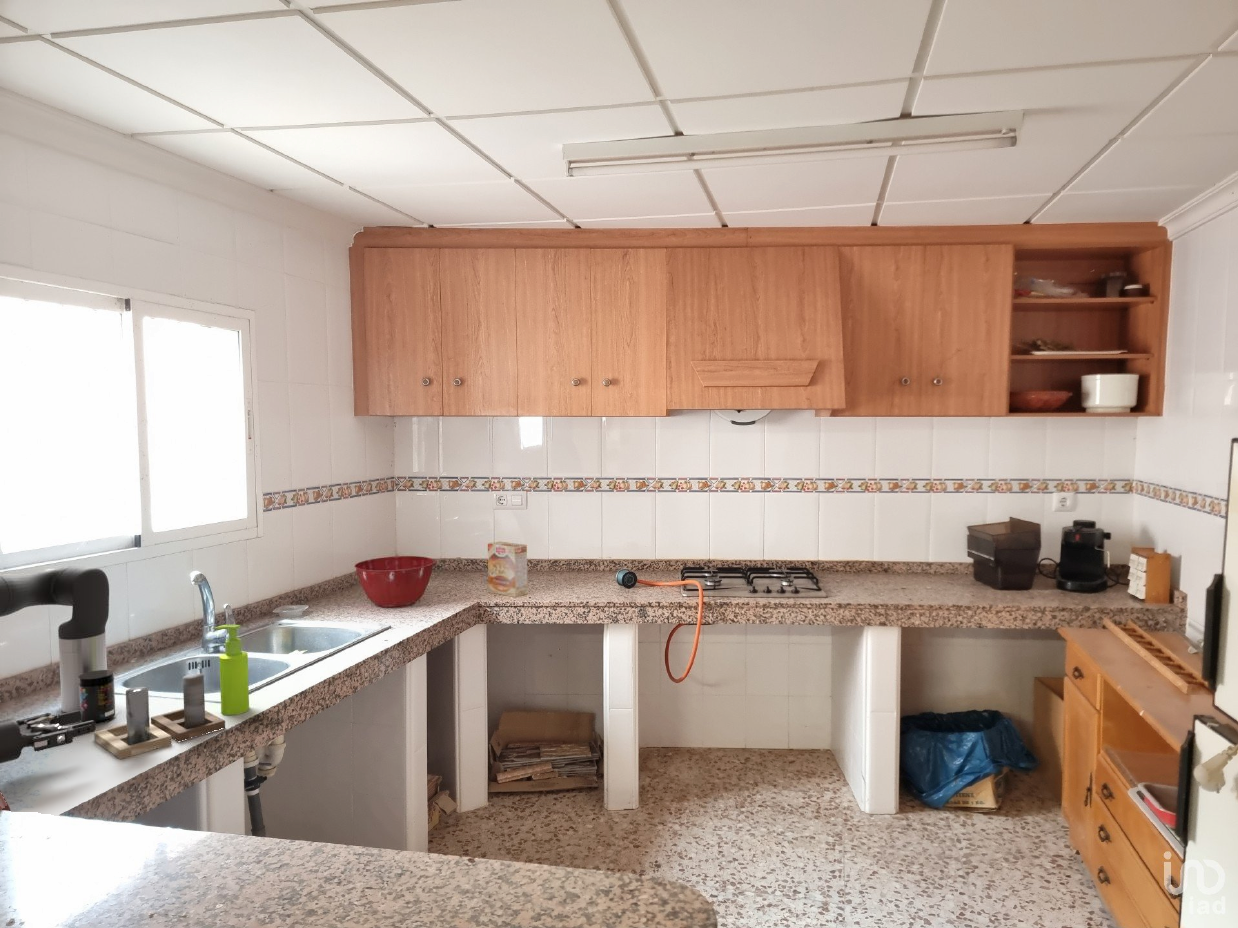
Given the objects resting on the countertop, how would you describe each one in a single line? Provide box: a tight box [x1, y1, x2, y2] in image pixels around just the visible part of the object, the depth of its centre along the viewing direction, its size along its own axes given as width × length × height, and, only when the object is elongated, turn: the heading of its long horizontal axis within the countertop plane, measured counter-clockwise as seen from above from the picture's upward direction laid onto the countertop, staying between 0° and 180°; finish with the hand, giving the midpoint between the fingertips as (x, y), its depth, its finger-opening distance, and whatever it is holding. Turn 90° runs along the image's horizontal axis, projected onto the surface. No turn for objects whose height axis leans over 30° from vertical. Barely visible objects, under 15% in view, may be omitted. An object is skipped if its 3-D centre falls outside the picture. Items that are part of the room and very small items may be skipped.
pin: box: [125, 686, 150, 746], centre depth 166 cm, size 4×4×12 cm
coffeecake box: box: [487, 541, 528, 598], centre depth 314 cm, size 15×7×20 cm, turn 53°
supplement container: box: [79, 669, 116, 725], centre depth 182 cm, size 7×7×10 cm
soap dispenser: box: [213, 624, 250, 716], centre depth 187 cm, size 6×7×20 cm
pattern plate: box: [150, 673, 226, 742], centre depth 177 cm, size 15×10×12 cm, turn 50°
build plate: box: [93, 722, 172, 760], centre depth 169 cm, size 15×10×2 cm, turn 50°
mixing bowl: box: [353, 555, 436, 609], centre depth 297 cm, size 28×28×16 cm
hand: (87, 720), depth 159 cm, fingers open, 8 cm apart
